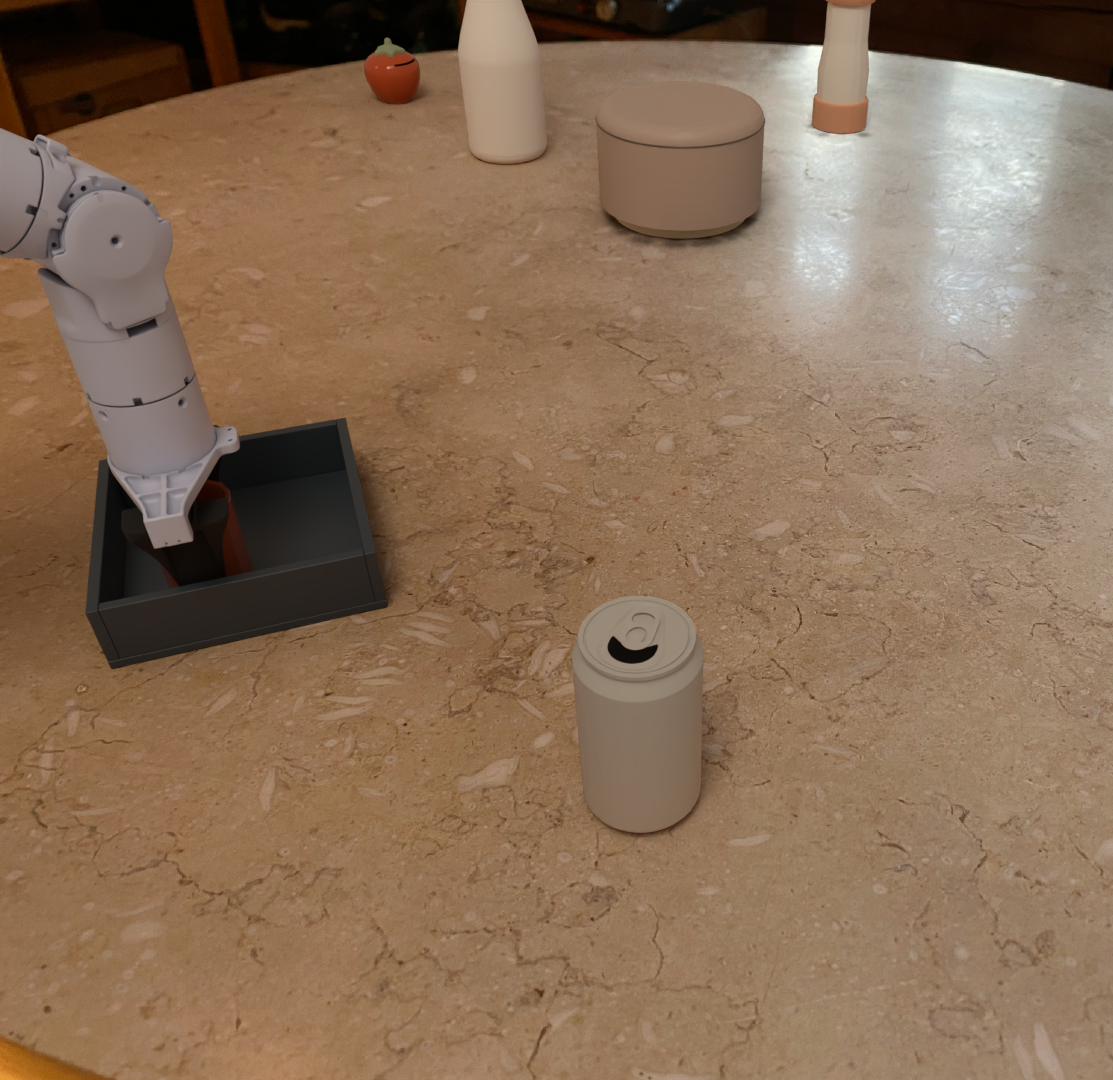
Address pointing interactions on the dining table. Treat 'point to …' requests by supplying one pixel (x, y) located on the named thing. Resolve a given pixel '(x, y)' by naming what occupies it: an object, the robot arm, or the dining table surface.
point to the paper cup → (225, 535)
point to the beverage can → (639, 712)
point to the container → (680, 158)
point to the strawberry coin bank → (392, 73)
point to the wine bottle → (501, 82)
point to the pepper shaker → (843, 68)
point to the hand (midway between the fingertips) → (207, 566)
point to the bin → (274, 544)
